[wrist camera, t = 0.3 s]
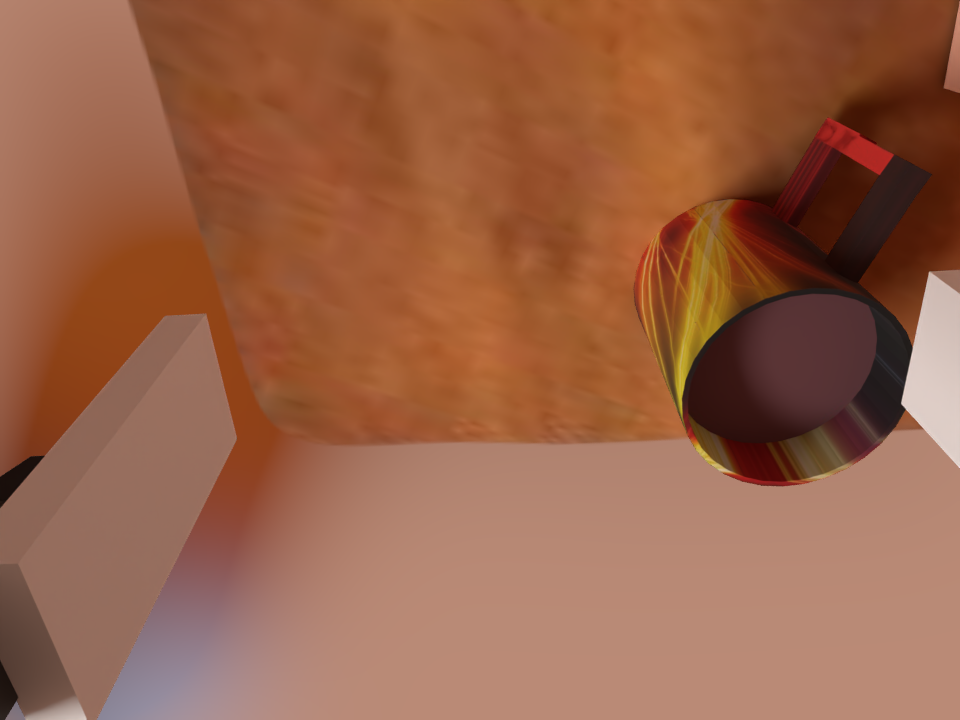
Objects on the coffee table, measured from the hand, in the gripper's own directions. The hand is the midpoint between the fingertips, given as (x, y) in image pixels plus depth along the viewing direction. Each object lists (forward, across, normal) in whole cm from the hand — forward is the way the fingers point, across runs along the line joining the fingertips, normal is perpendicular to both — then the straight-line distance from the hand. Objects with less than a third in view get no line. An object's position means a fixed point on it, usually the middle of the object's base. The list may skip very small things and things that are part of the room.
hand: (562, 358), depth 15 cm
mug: (+28, +11, -8) cm, 31 cm away
